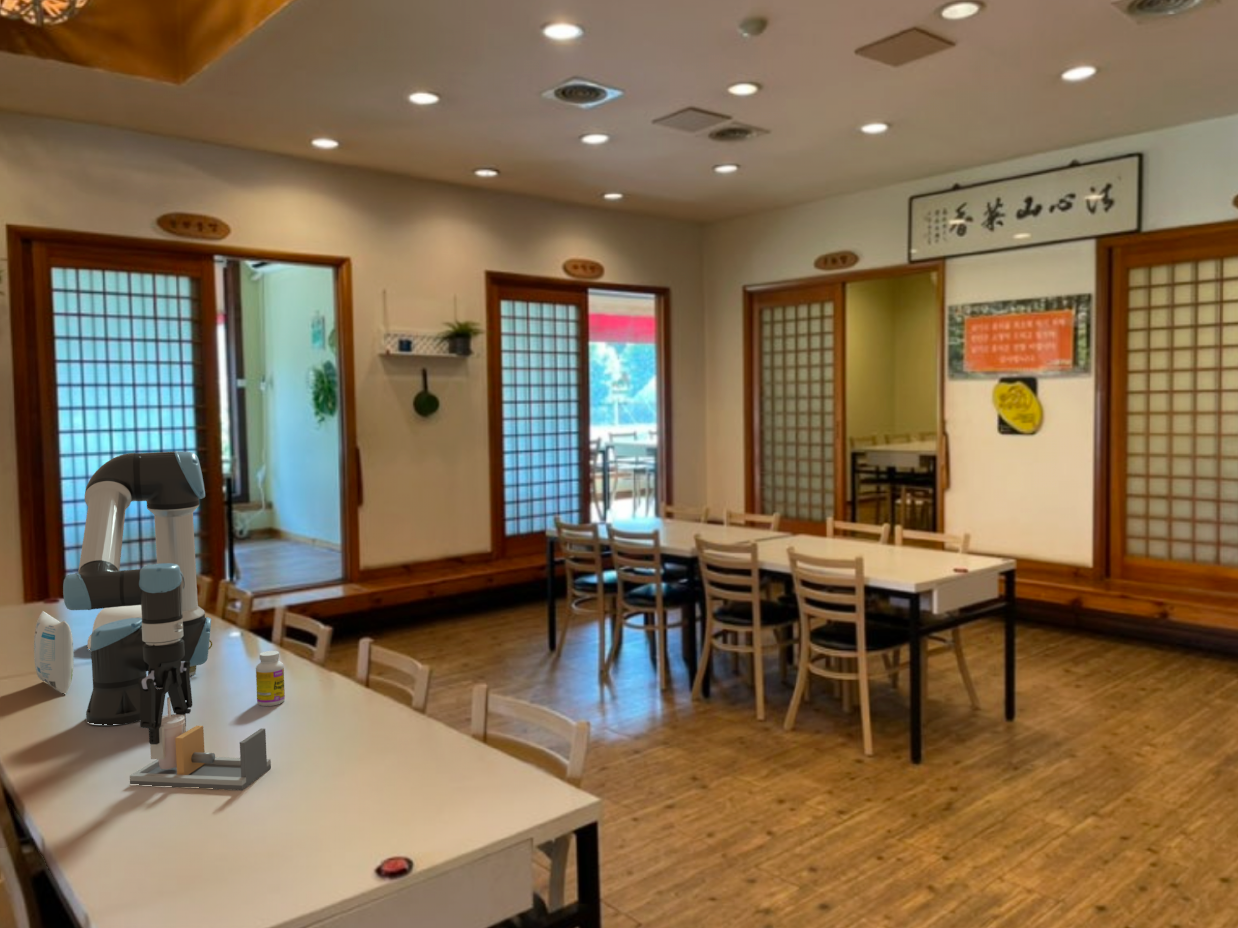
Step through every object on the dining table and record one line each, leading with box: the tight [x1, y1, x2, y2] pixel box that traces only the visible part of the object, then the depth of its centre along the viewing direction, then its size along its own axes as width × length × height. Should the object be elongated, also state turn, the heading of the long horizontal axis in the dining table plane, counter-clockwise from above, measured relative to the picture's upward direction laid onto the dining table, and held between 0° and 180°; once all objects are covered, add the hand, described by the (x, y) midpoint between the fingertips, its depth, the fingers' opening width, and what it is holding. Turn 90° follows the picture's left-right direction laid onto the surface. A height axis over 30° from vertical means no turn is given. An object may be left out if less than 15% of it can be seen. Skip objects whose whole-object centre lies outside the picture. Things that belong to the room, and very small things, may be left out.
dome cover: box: [87, 605, 142, 650], centre depth 300 cm, size 32×30×14 cm
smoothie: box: [155, 696, 185, 769], centre depth 188 cm, size 6×6×14 cm
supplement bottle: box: [255, 650, 286, 707], centre depth 234 cm, size 7×7×13 cm
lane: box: [129, 728, 272, 791], centre depth 187 cm, size 24×11×9 cm, turn 82°
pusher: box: [175, 725, 216, 775], centre depth 187 cm, size 6×7×8 cm
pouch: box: [33, 610, 75, 694], centre depth 250 cm, size 8×19×20 cm, turn 43°
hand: (169, 751), depth 188 cm, fingers closed on smoothie, 6 cm apart
